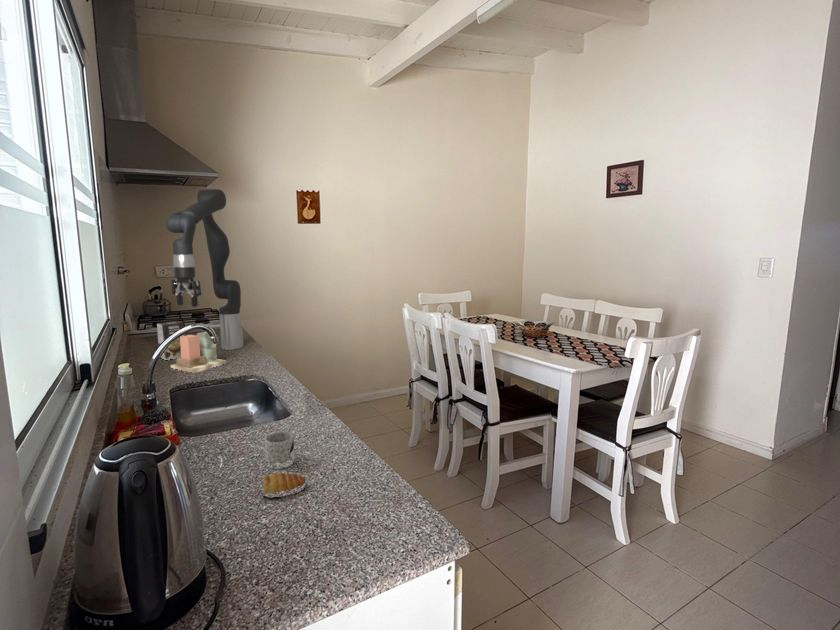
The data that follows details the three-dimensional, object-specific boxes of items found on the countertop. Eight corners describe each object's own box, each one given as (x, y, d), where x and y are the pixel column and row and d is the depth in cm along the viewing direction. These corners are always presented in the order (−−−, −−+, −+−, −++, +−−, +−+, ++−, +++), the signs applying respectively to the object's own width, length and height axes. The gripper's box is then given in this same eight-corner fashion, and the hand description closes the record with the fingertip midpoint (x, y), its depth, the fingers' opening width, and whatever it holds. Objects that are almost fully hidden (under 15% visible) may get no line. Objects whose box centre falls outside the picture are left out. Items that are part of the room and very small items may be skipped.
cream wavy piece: (203, 359, 212) (201, 329, 210) (226, 363, 206) (224, 332, 204) (170, 368, 198) (168, 336, 196) (194, 373, 192) (191, 340, 190)
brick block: (192, 355, 201) (190, 334, 200) (200, 356, 199) (198, 335, 198) (181, 358, 197) (179, 336, 196) (189, 359, 195) (188, 337, 193)
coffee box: (166, 361, 210) (162, 324, 207) (159, 358, 213) (155, 323, 211) (186, 357, 217) (183, 321, 214) (179, 354, 221) (176, 320, 218)
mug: (297, 465, 115) (296, 439, 114) (269, 472, 112) (268, 445, 111) (287, 449, 124) (286, 425, 123) (260, 455, 121) (259, 430, 120)
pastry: (304, 480, 109) (304, 464, 108) (308, 495, 103) (307, 478, 102) (261, 487, 106) (260, 470, 105) (262, 503, 100) (261, 486, 99)
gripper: (204, 265, 192) (207, 305, 195) (180, 264, 198) (183, 303, 201) (188, 266, 186) (191, 308, 188) (163, 265, 192) (167, 305, 195)
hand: (187, 305), depth 195 cm, fingers open, 8 cm apart
